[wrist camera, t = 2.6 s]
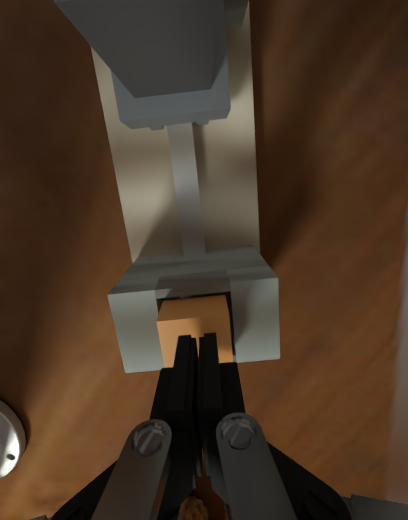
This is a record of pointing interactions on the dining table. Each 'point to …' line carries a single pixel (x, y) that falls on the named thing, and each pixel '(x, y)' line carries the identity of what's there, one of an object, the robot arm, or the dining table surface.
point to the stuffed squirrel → (194, 509)
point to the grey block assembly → (193, 216)
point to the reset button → (194, 324)
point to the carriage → (159, 57)
